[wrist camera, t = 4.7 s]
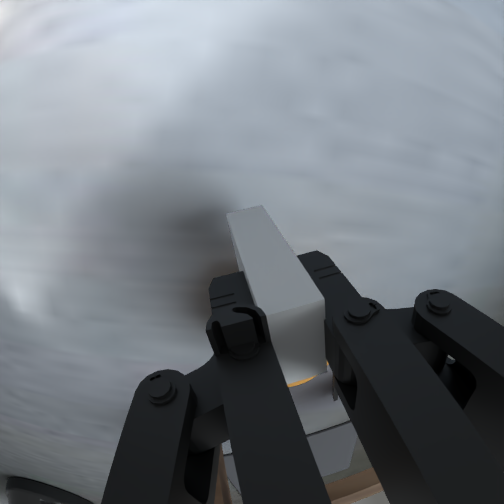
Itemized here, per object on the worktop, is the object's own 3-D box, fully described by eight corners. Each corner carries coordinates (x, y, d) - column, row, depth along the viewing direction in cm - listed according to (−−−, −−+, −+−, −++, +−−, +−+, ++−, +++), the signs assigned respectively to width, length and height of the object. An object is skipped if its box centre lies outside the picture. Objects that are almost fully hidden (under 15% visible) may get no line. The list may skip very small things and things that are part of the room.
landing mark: (242, 495, 31) (242, 496, 31) (214, 456, 24) (214, 458, 24) (348, 466, 32) (348, 467, 32) (360, 417, 26) (361, 418, 25)
